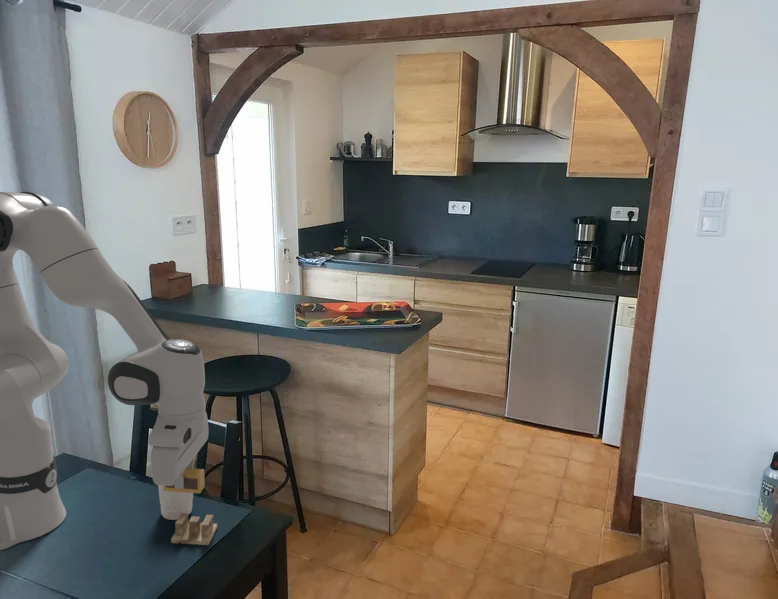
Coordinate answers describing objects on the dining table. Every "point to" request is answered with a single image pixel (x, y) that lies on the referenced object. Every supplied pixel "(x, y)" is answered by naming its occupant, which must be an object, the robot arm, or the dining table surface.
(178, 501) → the white cup
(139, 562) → the dining table surface
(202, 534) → the display stand
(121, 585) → the dining table surface
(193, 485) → the tan rectangular block
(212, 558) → the dining table surface
